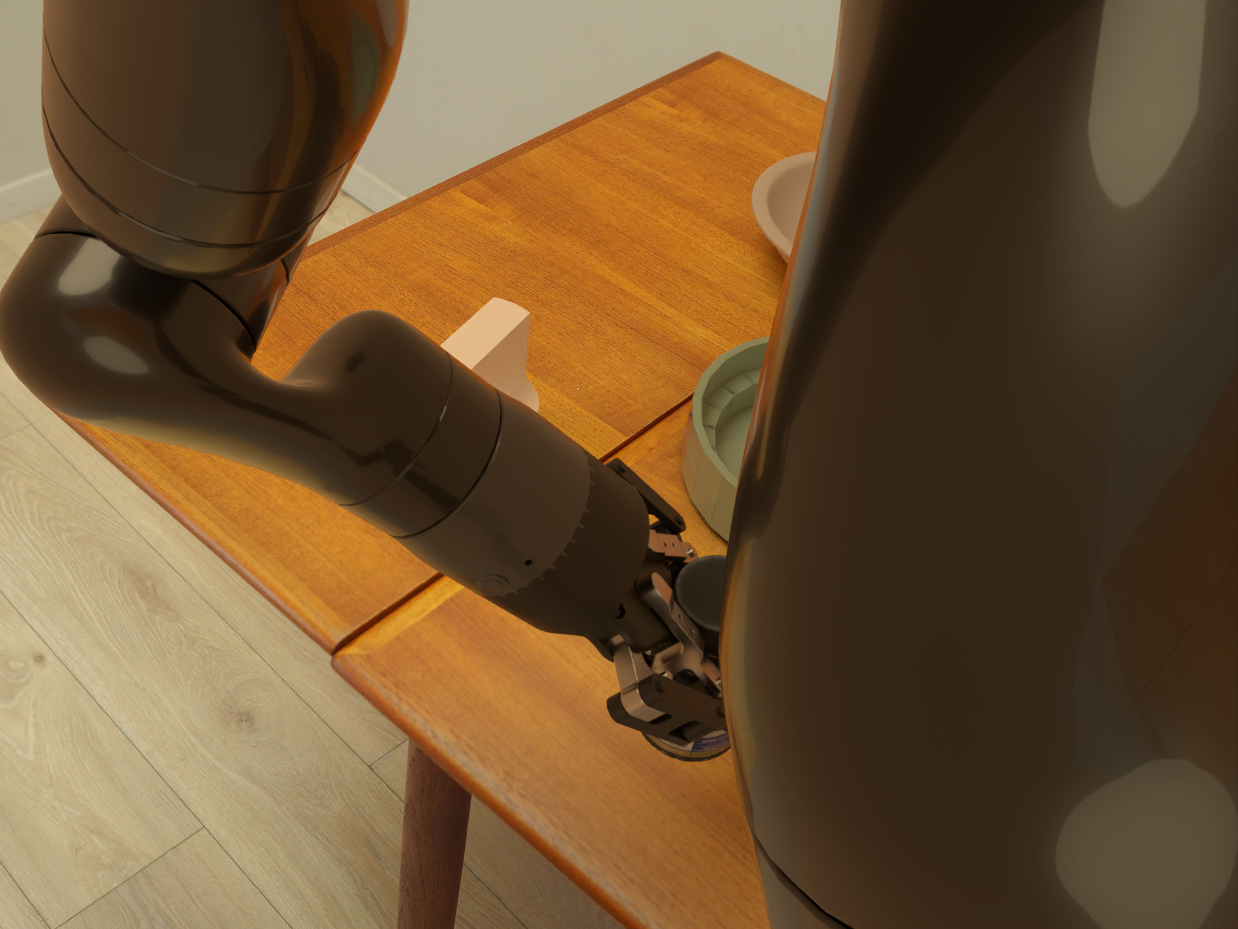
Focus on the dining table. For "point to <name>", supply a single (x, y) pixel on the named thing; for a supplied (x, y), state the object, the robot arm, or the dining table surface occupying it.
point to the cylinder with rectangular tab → (497, 348)
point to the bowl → (721, 431)
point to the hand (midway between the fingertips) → (734, 657)
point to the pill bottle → (702, 605)
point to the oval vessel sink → (782, 199)
